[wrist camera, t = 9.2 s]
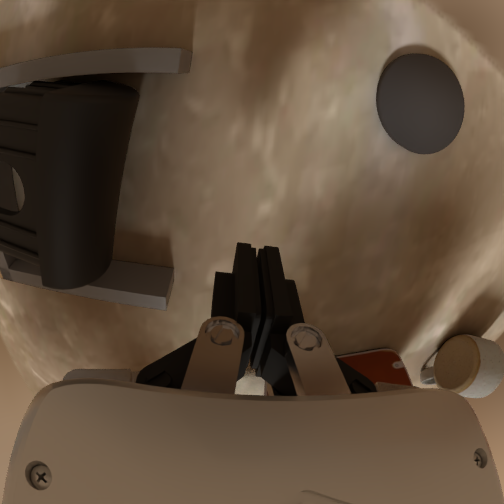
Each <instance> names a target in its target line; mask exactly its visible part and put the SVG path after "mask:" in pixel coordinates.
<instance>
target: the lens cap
mask: <svg viewBox="0 0 504 504" xmlns="http://www.w3.org/2000/svg"><path fill="white" fill-rule="evenodd" d="M376 104H377V111H378V115H379V118H380V121H381V123H382V125H383V127H384V129H385V131H386V132H387V133H388V135H389V136H390V137H391V138H392V139H393V140H394V141H395V142H396V143H397V144H399V145H401V146H402V147H404V148H405V149H407V150H409V151H411V152H414V153H418V154H432V153H435V152H438V151H440V150H442V149H444V148H445V147H447V146H448V145H449V144H450V143H451V142H452V141H453V140H454V139H455V137H456V136H457V134H458V132H459V130H460V128H461V125H462V122H463V117H464V97H463V92H462V89H461V86H460V84H459V81H458V80H457V78H456V76H455V75H454V73H453V72H452V71H451V69H450V68H449V67H448V66H447V65H446V64H444V63H443V62H442V61H440V60H439V59H437V58H435V57H432V56H429V55H425V54H407V55H403V56H401V57H399V58H397V59H395V60H394V61H392V62H391V63H390V64H389V65H388V66H387V67H386V69H385V70H384V72H383V73H382V75H381V78H380V80H379V83H378V87H377V93H376Z"/></svg>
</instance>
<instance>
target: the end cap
mask: <svg viewBox="0 0 504 504" xmlns="http://www.w3.org/2000/svg"><path fill="white" fill-rule="evenodd" d="M139 97H140V94H139V92H138V91H137V90H136V89H134V88H133V87H130V86H128V85H125V84H121V83H117V82H112V81H107V80H101V81H95V82H89V83H78V82H70V81H62V80H61V81H56V82H45V81H33V82H32V83H31V84H30V85H27V86H26V88H18V87H8V88H7V89H6V90H5V91H4V92H1V93H0V161H2V162H5V163H8V164H9V165H11V166H12V167H13V168H14V169H15V170H16V172H17V173H18V175H19V176H20V178H21V181H22V183H23V187H24V193H25V201H24V205H23V208H22V210H20V211H10V210H7V209H4V208H1V207H0V251H1V252H4V253H6V254H8V255H11V256H13V257H16V258H19V259H21V260H24V261H26V262H29V263H32V264H34V265H37V266H40V272H41V279H42V285H43V286H44V287H48V288H51V289H59V290H67V289H75V288H80V287H83V286H86V285H88V284H91V283H93V282H94V281H96V280H97V279H99V278H100V277H101V276H102V275H103V274H104V273H105V272H106V271H107V269H108V268H109V266H110V263H111V261H112V253H113V242H114V232H115V223H116V215H117V207H118V200H119V193H120V187H121V181H122V175H123V169H124V163H125V158H126V153H127V148H128V143H129V138H130V134H131V129H132V125H133V121H134V117H135V113H136V109H137V105H138V101H139Z"/></svg>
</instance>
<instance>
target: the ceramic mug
mask: <svg viewBox="0 0 504 504" xmlns="http://www.w3.org/2000/svg"><path fill="white" fill-rule="evenodd" d="M503 375H504V353H503V351H502V349H501V348H500V346H499V345H498V344H497V343H496V342H494V341H491V340H488V339H484V338H480V337H476V336H473V335H468V334H465V335H457V336H454V337H452V338H450V339H449V340H448V341H446V342H445V343H444V344H443V346H442V347H441V348H440V350H439V351H438V353H437V355H436V358H435V362H434V366H433V367H429V368H427V369H424V370H422V371H421V374H420V381H421V383H422V384H426V385H436V384H437V386H438V387H439V389H444V390H448V391H452V392H455V393H457V394H459V395H461V396H463V397H470V398H482V397H485V396H487V395H489V394H490V393H492V392H493V391H494V390H495V389H496V388H497V387H498V385H499V384H500V382H501V380H502V378H503Z"/></svg>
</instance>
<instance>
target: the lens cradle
mask: <svg viewBox="0 0 504 504" xmlns="http://www.w3.org/2000/svg"><path fill="white" fill-rule="evenodd" d="M191 58H192V52H191V51H188V50H185V49H182V48H121V49H106V50H94V51H85V52H77V53H69V54H63V55H57V56H51V57H45V58H40V59H35V60H31V61H26V62H22V63H18V64H14V65H10V66H6V67H3V68H0V93H1V92H4V91H5V90H6V89H7V86H10V85H15V84H20V83H25V82H31V81H37V80H43V79H50V78H57V77H66V76H75V75H86V74H101V73H128V72H151V73H189V71H190V64H191ZM0 207H1V208H4V209H7V210H10V211H18V206H17V201H16V195H15V190H14V183H13V177H12V169H11V165H9V164H8V163H5V162H2V161H0ZM0 277H1V278H2V279H6V280H10V281H14V282H18V283H22V284H26V285H30V286H35V287H39V288H44V289H48V290H53V291H57V292H62V293H67V294H72V295H77V296H82V297H87V298H92V299H98V300H103V301H109V302H114V303H120V304H126V305H132V306H139V307H145V308H152V309H158V310H165V311H166V310H167V306H168V302H169V298H170V294H171V290H172V286H173V283H174V268H167V267H160V266H152V265H145V264H138V263H130V262H123V261H116V260H112V261H111V263H110V266H109V268H108V269H107V271H106V272H105V273H104V274H103V275H102V276H101V277H100V278H99V279H97V280H96V281H94V282H93V283H91V284H88V285H86V286H83V287H80V288H75V289H67V290H59V289H51V288H48V287H44V286H43V285H42V279H41V272H40V266H37V265H34V264H32V263H29V262H26V261H24V260H21V259H19V258H16V257H13V256H11V255H8V254H6V253H4V252H1V251H0Z"/></svg>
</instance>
